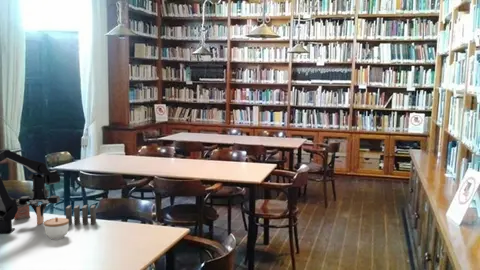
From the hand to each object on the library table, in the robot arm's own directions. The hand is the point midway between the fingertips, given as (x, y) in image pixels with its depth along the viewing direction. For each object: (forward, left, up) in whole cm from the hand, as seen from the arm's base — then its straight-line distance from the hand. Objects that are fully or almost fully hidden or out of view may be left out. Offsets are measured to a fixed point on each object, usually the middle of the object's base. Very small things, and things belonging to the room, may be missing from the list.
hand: (40, 216), depth 230 cm
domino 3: (-3, -19, -4) cm, 20 cm away
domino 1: (0, 0, -4) cm, 4 cm away
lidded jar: (-24, -15, -4) cm, 29 cm away
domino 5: (-3, -27, -4) cm, 27 cm away
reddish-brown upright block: (+9, +12, -4) cm, 15 cm away
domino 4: (-3, -23, -4) cm, 23 cm away
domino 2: (-3, -15, -4) cm, 16 cm away
